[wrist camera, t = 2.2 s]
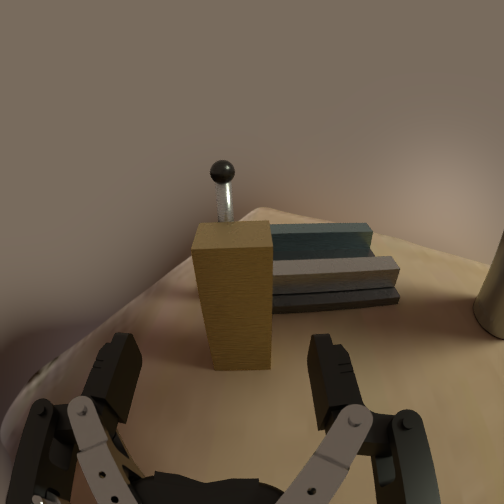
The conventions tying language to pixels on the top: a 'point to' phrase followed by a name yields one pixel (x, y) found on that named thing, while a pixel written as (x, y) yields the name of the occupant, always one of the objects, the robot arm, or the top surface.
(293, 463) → the top surface
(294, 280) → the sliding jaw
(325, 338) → the robot arm
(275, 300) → the vise
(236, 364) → the block
